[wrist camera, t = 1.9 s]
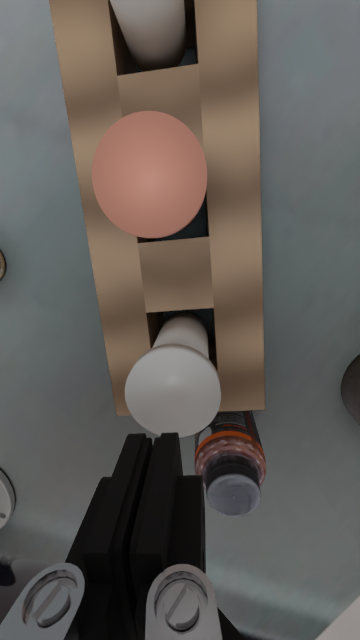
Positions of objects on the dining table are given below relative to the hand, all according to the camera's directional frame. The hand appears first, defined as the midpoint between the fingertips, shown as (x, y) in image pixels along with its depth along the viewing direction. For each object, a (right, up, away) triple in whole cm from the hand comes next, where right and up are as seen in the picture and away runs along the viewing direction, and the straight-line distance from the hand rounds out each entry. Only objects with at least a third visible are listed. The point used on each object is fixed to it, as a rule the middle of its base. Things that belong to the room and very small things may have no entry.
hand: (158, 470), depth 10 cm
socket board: (+1, +15, +18) cm, 23 cm away
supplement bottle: (+5, -5, +23) cm, 24 cm away
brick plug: (0, +13, +12) cm, 18 cm away
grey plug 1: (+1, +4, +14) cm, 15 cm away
